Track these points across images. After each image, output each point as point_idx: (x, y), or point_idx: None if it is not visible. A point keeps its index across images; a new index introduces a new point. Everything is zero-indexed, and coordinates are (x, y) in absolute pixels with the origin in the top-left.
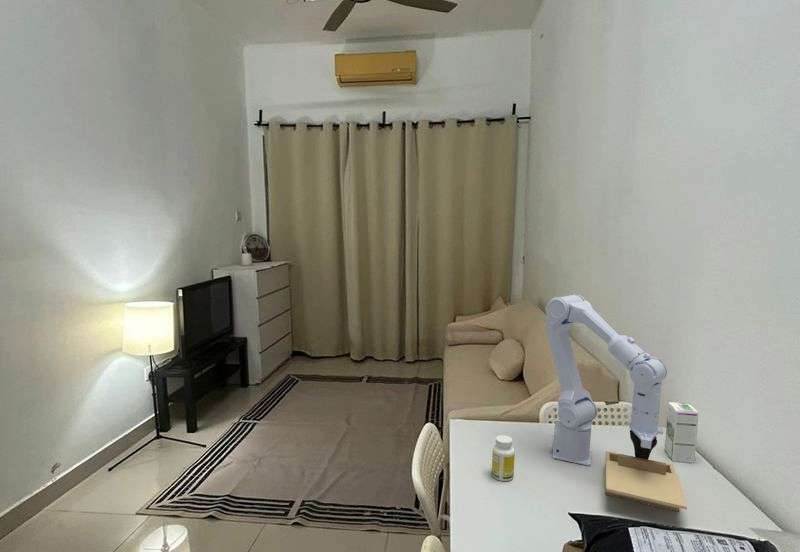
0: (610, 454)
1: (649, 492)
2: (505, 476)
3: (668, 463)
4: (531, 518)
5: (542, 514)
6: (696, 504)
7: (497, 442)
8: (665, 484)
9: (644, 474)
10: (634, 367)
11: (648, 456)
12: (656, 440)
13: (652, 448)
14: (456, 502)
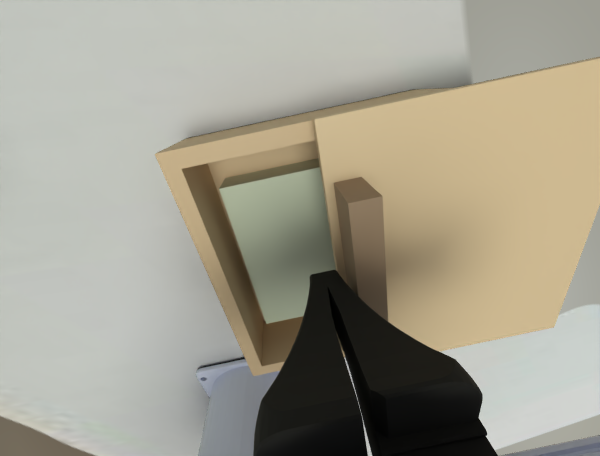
0: (260, 359)
1: (550, 216)
2: None
3: (164, 175)
4: (557, 362)
5: (539, 354)
6: (315, 19)
7: None
8: (460, 167)
9: (403, 255)
10: None
11: (358, 298)
12: (420, 393)
13: (411, 338)
14: (537, 435)
